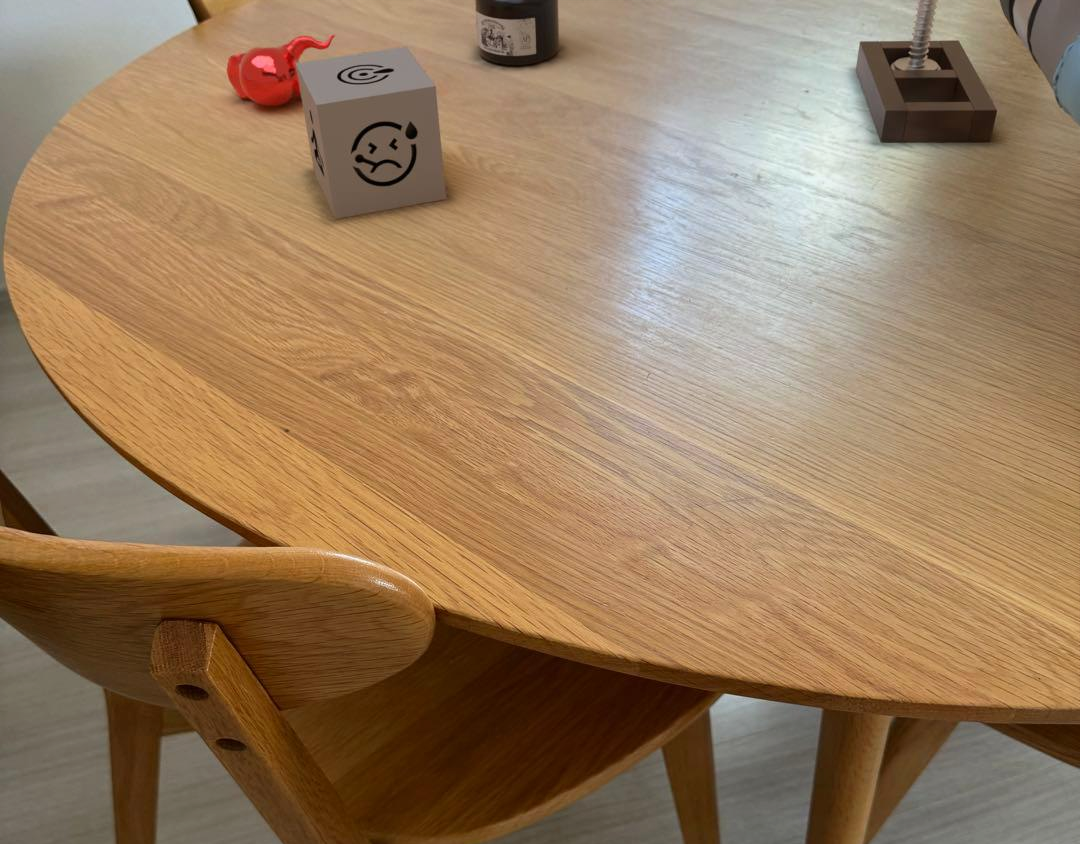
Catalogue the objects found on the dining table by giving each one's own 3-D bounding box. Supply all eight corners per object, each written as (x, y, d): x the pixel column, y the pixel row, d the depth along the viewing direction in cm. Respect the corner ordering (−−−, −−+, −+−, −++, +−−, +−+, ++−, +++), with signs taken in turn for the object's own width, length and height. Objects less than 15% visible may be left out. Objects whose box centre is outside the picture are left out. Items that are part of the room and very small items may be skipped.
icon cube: (418, 154, 110) (406, 46, 103) (446, 198, 103) (435, 86, 96) (314, 172, 108) (295, 63, 101) (335, 219, 100) (316, 105, 94)
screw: (945, 86, 117) (921, 101, 115) (902, 75, 120) (878, 90, 117) (973, -53, 109) (948, -40, 106) (926, -61, 111) (900, -49, 109)
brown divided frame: (952, 69, 121) (959, 40, 119) (990, 142, 107) (997, 110, 105) (855, 70, 121) (859, 41, 119) (880, 142, 108) (885, 110, 106)
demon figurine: (218, 41, 119) (332, 18, 120) (236, 100, 123) (346, 79, 124) (216, 64, 113) (336, 41, 114) (235, 126, 117) (351, 103, 118)
